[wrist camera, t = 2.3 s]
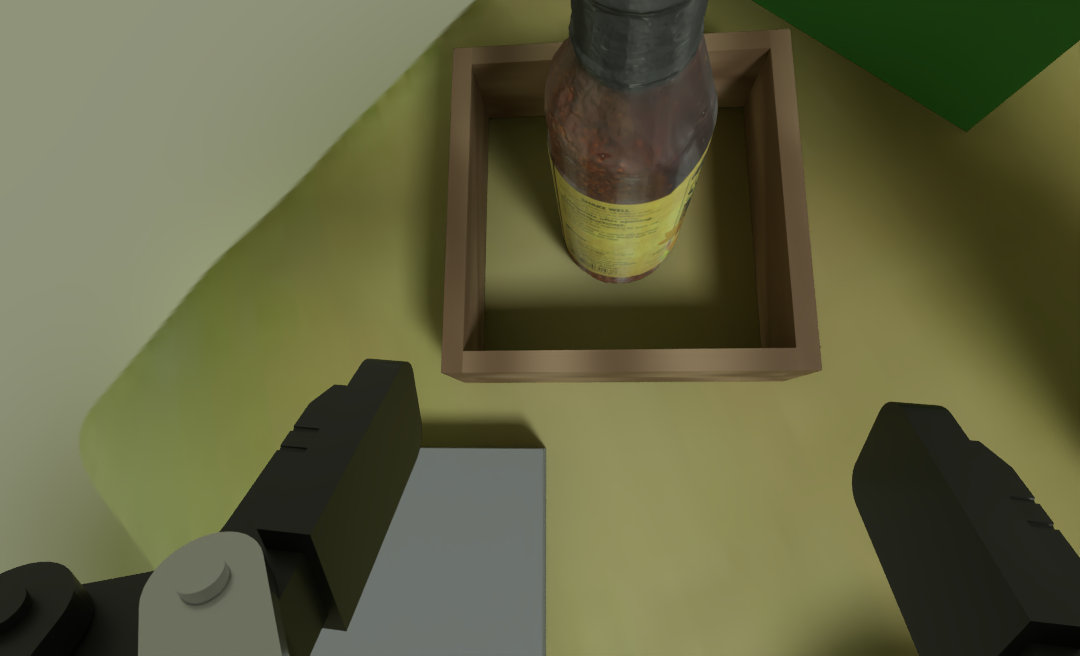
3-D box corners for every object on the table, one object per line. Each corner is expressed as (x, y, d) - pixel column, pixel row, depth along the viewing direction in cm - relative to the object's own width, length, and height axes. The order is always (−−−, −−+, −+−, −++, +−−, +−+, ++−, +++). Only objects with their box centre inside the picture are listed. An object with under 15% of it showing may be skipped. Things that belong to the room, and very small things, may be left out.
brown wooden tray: (760, 90, 32) (790, 28, 28) (783, 381, 29) (822, 370, 24) (473, 104, 34) (453, 48, 29) (464, 382, 31) (441, 372, 26)
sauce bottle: (689, 267, 31) (858, -21, 11) (582, 302, 31) (567, 77, 12) (649, 164, 32) (740, -250, 13) (547, 198, 32) (481, -160, 13)
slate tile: (545, 448, 30) (542, 448, 28) (545, 697, 27) (542, 717, 25) (329, 446, 31) (311, 447, 29) (311, 687, 28) (290, 705, 26)
